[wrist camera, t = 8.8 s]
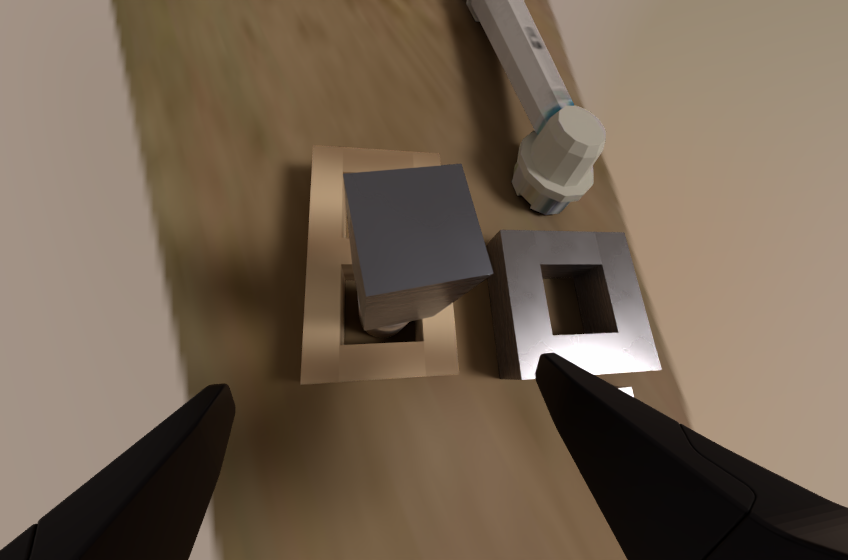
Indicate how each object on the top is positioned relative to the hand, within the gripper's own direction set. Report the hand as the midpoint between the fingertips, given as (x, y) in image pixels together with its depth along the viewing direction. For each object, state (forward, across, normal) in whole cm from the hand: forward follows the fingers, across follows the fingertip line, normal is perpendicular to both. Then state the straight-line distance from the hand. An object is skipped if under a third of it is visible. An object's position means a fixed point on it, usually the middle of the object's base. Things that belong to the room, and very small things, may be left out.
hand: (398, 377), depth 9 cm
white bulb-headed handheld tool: (+24, -12, -9) cm, 28 cm away
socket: (+10, -12, +4) cm, 16 cm away
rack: (+12, 0, +2) cm, 12 cm away
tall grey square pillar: (+10, 0, +4) cm, 11 cm away
